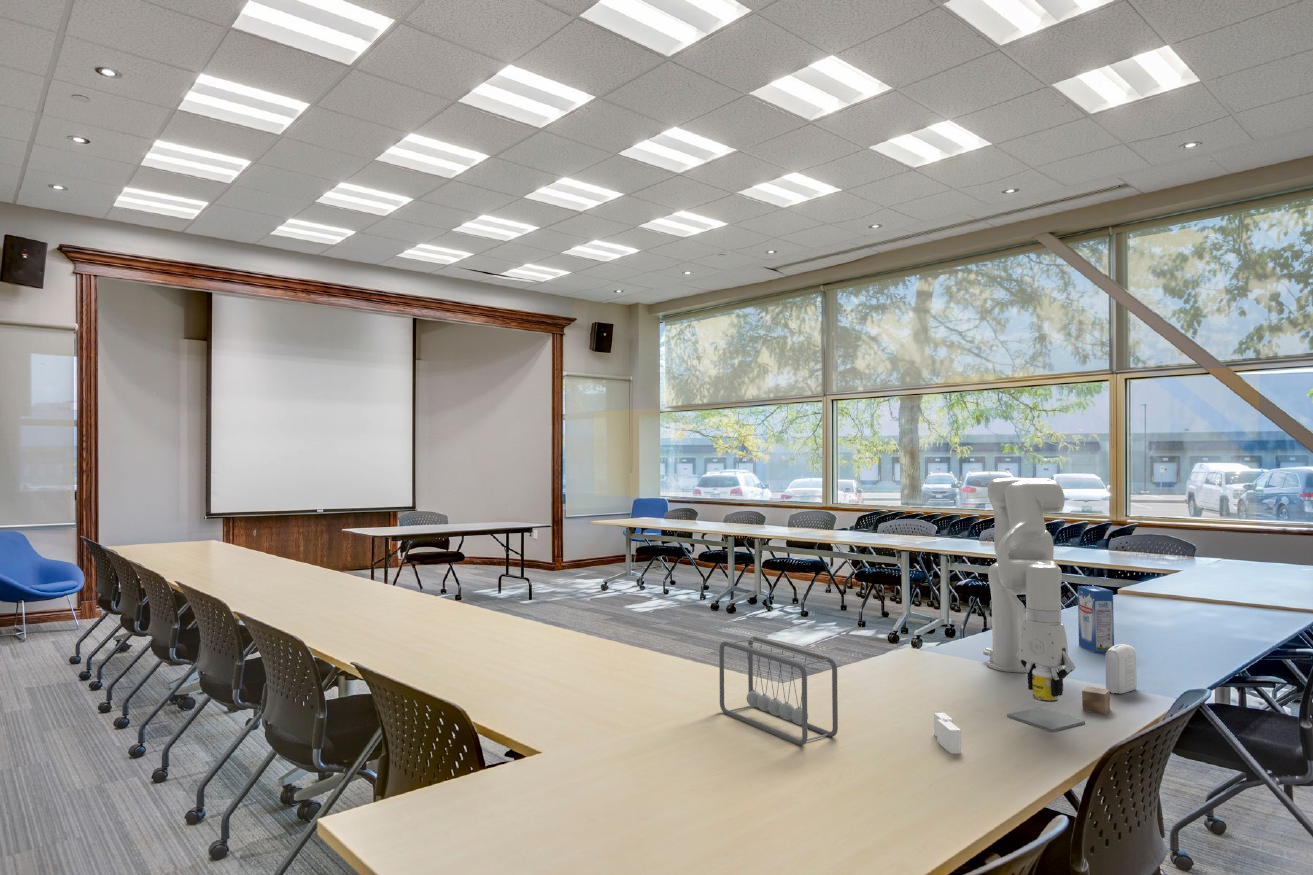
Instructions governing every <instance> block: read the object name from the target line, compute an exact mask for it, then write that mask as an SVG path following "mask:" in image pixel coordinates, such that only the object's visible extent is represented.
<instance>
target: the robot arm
mask: <svg viewBox="0 0 1313 875" xmlns="http://www.w3.org/2000/svg"><path fill="white" fill-rule="evenodd" d="M987 497H988V500H989V503H990V504H991V507H992V510H993V512H994V532H993V533H994V535H993V536H994V537H993V539H994V541H993V542H994V544H993V545H994V553H995V555H996V562H994V563H992V564H991V565H990V566H989V568H988V571H987V573H988V574H987V576H988V583H989V584H988V585H989V589H990V596H991V621H992V622H991V624H992V628H991V629H992V632H991V633H992V639H991V640H992V648H989V647H986V648H984V650H983V653H982V655H983V656H988V657H989V659H988V660H987V666H988V667H989V668H990V669H993V670H997V671H1001V672H1006V673H1018V674H1019V673H1020V674H1021V673H1027V689H1028V691H1033V682H1032V671H1033V669H1034V668H1036V666H1035V664H1038V665H1042V666H1046V667H1050V668H1051V671H1052V674H1053V678H1054V679H1052V680H1051V695H1052V696H1054V697H1056V696H1058V697H1059V696H1060V697H1061V696H1063V692H1064V679H1065V678H1066V677H1067V676H1068V675H1069V674H1070V673H1072V672H1074V671H1075V670H1076V665H1075V664H1074V662H1073V661H1072V660H1071V658H1070V657H1069V649H1068V640H1067V633H1066V629H1065V625H1064V623H1062V589H1061V587H1062V586H1061V585H1062V580H1063V573H1062V569H1061V567H1060V566H1059V565H1058V564H1057V563H1056V562H1055V561H1054V554H1055V553H1054V548H1055V547H1054V540H1053V536H1052V534H1051V532H1049V531H1048V530H1047V529H1046V528H1047V526H1046V522H1045V518H1044V513H1054V514H1055V513H1059V512H1061V511H1062V510H1063V509H1064V507H1065V494H1064V490H1063V488H1062V486H1061V485H1060V483H1058V482H1057V481H1056V480H1053V479H1051V478H1046V477H1045V478H1041V477H1039V478H1038V477H1037V478H1036V477H1031V478H1030V477H1028V478H1027V477H1026V478H1025V477H1000V478H999V477H998V478H994V479H991V480H990V481H989V483H988V485H987ZM1017 595H1018V596H1019V595H1025V602H1026V604H1025V605H1024V603H1023V602H1022V601H1021V600H1020V599H1019V598H1018V596H1017ZM1025 606H1026V607H1025ZM1064 666H1065V667H1064Z"/></svg>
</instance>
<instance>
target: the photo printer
mask: <svg viewBox="0 0 1313 875" xmlns="http://www.w3.org/2000/svg"><path fill="white" fill-rule="evenodd" d="M1137 687H1138V680H1137V652H1136V650H1135V648H1134V647H1133V646H1131V645H1129V644H1125V643H1124V644H1123V643H1118V644H1114V646H1113V647H1111V648H1110V649H1109V650H1108V651H1107V652H1106V653H1105V689H1107V690H1110V692H1111V693H1110V694H1114V693H1119V694H1118V695H1120V694H1125V693H1127V692H1131V691H1135V690H1136V689H1137Z"/></svg>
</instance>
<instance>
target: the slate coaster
mask: <svg viewBox="0 0 1313 875" xmlns="http://www.w3.org/2000/svg"><path fill="white" fill-rule="evenodd" d="M1006 717H1007V718H1009V719H1012V720H1015V721H1018V722H1022V723H1025V724H1028V725H1030V726H1035V727H1037V728H1039V729H1042V730H1045V731H1049V732H1052V733H1053V732H1056V731H1061V730H1065V729H1069V728H1073V727H1077V726H1082V725H1085V724H1086V720H1084V719H1080V718H1078V717H1077V718H1076V717H1073V716H1070V715H1066V714H1064V713H1061V712H1056V711H1054V710H1051V709H1048V708H1043V707H1041V706H1037V707H1033V708H1028V709H1023V710H1020V711H1015V712H1012V713H1011V712H1010V713H1007V714H1006Z"/></svg>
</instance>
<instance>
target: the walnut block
mask: <svg viewBox="0 0 1313 875" xmlns="http://www.w3.org/2000/svg"><path fill="white" fill-rule="evenodd" d="M1081 694H1082V696H1081V702H1082V703H1081V704H1082V705H1081V706H1082V711H1083V710H1084V711H1083V712H1089V713H1093V712H1094V714H1100V715H1105V716H1106V715H1107V714H1108V713H1109V712H1110V710H1111V704H1110V703H1111V702H1110V701H1111V697H1110V696H1111V695H1110V694H1111V693H1110V690H1107V689H1106V688H1100V687H1094V686H1090V685H1086V686H1085V687H1084V688H1083V689H1082V691H1081Z"/></svg>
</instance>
